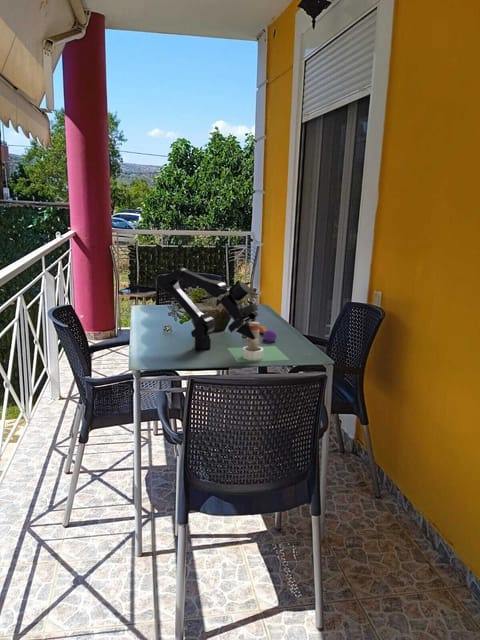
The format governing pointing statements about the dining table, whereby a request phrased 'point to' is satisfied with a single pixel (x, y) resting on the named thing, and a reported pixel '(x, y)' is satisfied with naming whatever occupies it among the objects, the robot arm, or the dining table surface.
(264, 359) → the putting mat
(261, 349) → the cup
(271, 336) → the purple faceted ball
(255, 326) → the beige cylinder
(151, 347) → the dining table surface
